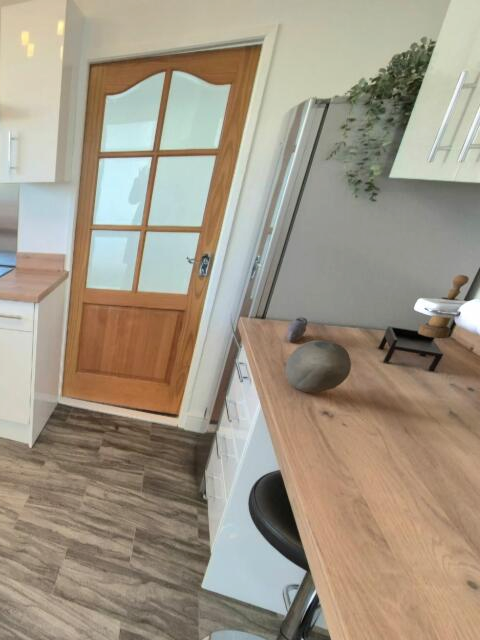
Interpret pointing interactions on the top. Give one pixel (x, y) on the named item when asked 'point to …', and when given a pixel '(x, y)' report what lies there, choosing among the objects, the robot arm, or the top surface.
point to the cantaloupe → (318, 366)
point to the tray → (410, 344)
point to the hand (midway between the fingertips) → (446, 302)
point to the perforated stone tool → (296, 329)
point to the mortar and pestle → (439, 324)
